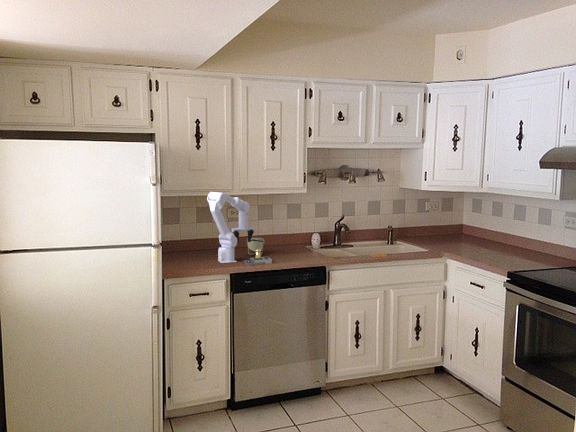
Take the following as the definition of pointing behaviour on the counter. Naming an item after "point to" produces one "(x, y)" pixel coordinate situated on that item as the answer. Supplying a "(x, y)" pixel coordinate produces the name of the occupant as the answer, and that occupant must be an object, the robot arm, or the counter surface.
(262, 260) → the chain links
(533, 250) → the counter surface
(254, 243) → the food container
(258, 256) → the brass pin
